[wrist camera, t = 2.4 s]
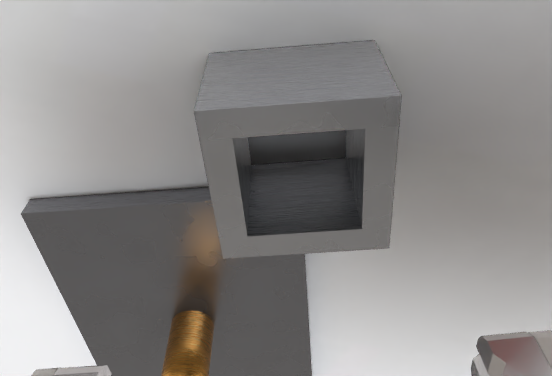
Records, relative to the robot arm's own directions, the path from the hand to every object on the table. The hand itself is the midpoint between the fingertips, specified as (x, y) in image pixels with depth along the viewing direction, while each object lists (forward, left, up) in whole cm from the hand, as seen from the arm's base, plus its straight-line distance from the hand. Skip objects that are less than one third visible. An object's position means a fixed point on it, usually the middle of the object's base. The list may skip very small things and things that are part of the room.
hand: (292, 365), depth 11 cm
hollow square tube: (-1, 0, -11) cm, 11 cm away
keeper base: (+5, +11, -11) cm, 16 cm away
